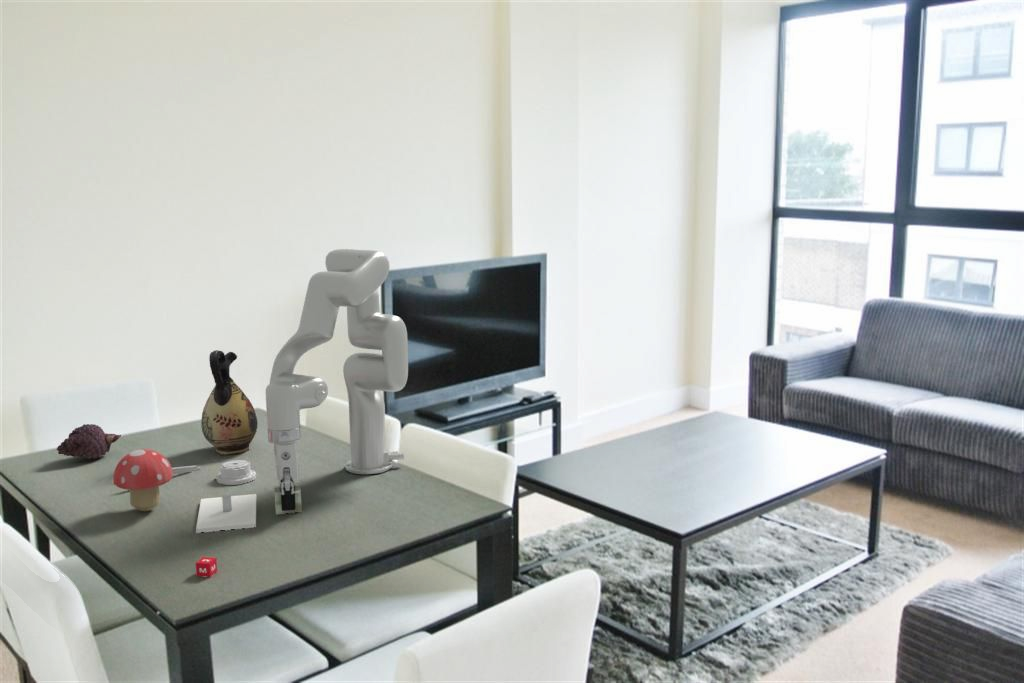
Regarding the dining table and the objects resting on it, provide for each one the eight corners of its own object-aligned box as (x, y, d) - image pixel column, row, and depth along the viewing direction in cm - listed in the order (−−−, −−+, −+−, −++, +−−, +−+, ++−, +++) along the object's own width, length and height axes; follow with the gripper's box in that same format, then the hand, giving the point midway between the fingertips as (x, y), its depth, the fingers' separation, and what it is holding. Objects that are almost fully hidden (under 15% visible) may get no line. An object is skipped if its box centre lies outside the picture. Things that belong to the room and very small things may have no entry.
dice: (196, 576, 194) (195, 562, 193) (203, 570, 196) (202, 556, 196) (210, 577, 193) (209, 563, 193) (217, 571, 196) (216, 557, 195)
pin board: (256, 497, 238) (255, 476, 237) (256, 527, 219) (254, 504, 218) (201, 502, 235) (199, 481, 234) (196, 533, 216) (194, 510, 215)
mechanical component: (209, 485, 248) (245, 487, 246) (208, 468, 248) (244, 470, 246) (228, 472, 258) (262, 474, 256) (227, 456, 257) (261, 459, 255)
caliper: (135, 491, 244) (133, 467, 243) (133, 490, 245) (131, 467, 243) (201, 469, 261) (200, 447, 259) (199, 469, 261) (197, 447, 260)
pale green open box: (300, 503, 234) (299, 483, 233) (301, 512, 228) (300, 492, 227) (275, 505, 232) (274, 486, 231) (275, 514, 227) (274, 494, 226)
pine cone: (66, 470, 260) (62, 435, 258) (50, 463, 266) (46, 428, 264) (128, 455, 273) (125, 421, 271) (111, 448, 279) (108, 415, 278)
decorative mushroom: (105, 512, 229) (99, 452, 226) (157, 497, 239) (152, 439, 236) (134, 525, 221) (129, 463, 218) (186, 509, 231) (182, 449, 228)
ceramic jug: (217, 441, 285) (210, 342, 280) (267, 443, 283) (261, 343, 278) (191, 459, 269) (183, 354, 263) (243, 461, 267) (236, 355, 261)
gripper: (302, 443, 219) (305, 514, 223) (299, 423, 236) (302, 489, 239) (268, 445, 218) (272, 517, 221) (267, 425, 234) (271, 492, 237)
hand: (288, 502), depth 230 cm, fingers open, 9 cm apart
